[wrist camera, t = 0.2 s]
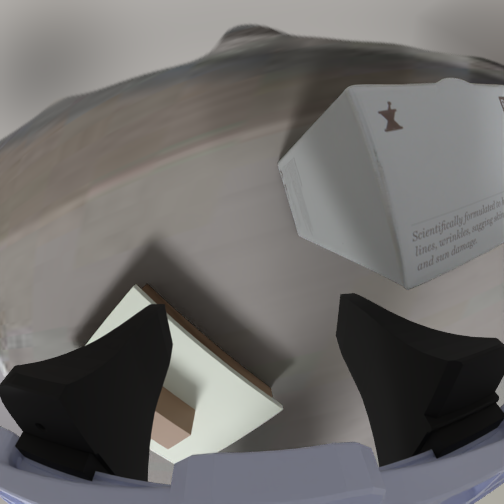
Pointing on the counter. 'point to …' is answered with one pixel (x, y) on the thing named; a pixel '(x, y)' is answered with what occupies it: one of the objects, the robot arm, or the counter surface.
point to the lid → (196, 393)
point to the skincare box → (403, 177)
